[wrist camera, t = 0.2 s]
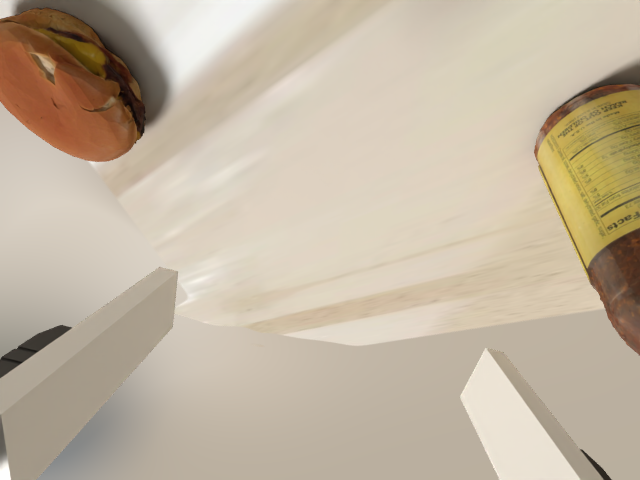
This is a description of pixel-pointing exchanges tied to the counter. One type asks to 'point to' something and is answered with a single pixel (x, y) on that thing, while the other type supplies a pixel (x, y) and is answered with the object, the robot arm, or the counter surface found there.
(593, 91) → the sauce bottle
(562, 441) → the robot arm
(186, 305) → the counter surface
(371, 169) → the counter surface
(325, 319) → the counter surface
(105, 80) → the burger
